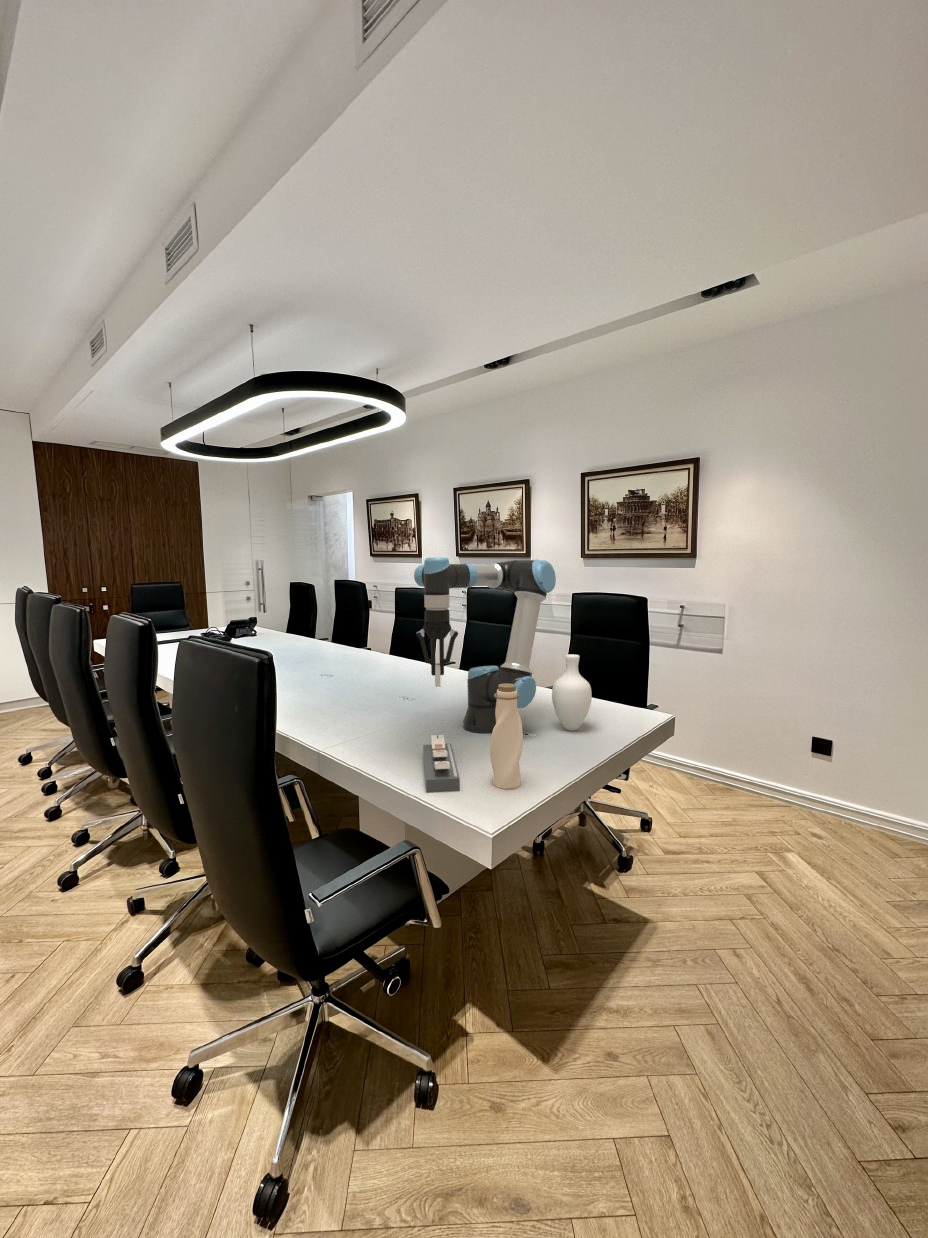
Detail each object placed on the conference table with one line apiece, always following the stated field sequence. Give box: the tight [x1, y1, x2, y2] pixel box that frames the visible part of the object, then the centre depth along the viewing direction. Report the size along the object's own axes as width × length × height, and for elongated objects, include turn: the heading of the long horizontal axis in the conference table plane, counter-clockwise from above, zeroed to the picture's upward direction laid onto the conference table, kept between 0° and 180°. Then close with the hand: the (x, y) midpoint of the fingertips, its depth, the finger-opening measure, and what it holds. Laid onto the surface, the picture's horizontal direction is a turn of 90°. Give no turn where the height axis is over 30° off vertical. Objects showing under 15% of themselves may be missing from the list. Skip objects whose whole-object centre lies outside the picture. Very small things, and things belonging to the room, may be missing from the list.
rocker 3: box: [434, 761, 450, 769], centre depth 146 cm, size 4×7×2 cm, turn 6°
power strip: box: [422, 743, 461, 793], centre depth 159 cm, size 9×37×4 cm, turn 6°
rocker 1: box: [430, 734, 446, 752], centre depth 164 cm, size 4×7×2 cm, turn 6°
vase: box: [551, 653, 593, 732], centre depth 193 cm, size 14×14×28 cm
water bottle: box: [489, 683, 524, 790], centre depth 146 cm, size 10×9×28 cm
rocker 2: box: [433, 750, 447, 757], centre depth 155 cm, size 4×7×2 cm, turn 6°
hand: (437, 685), depth 160 cm, fingers closed
